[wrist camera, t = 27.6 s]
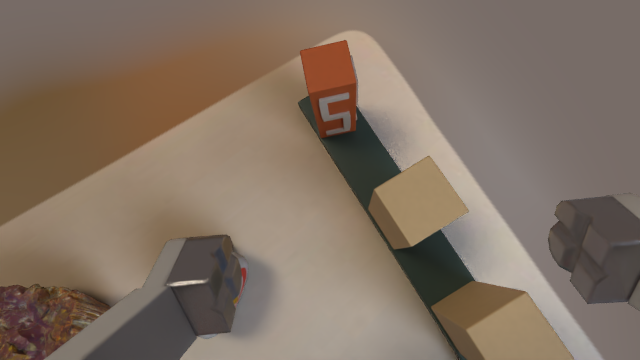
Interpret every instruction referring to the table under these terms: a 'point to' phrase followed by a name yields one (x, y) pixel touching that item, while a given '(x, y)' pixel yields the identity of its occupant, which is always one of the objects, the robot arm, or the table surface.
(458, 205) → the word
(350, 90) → the letter S
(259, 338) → the table surface
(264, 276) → the table surface
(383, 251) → the table surface
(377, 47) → the table surface
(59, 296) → the mineral specimen
